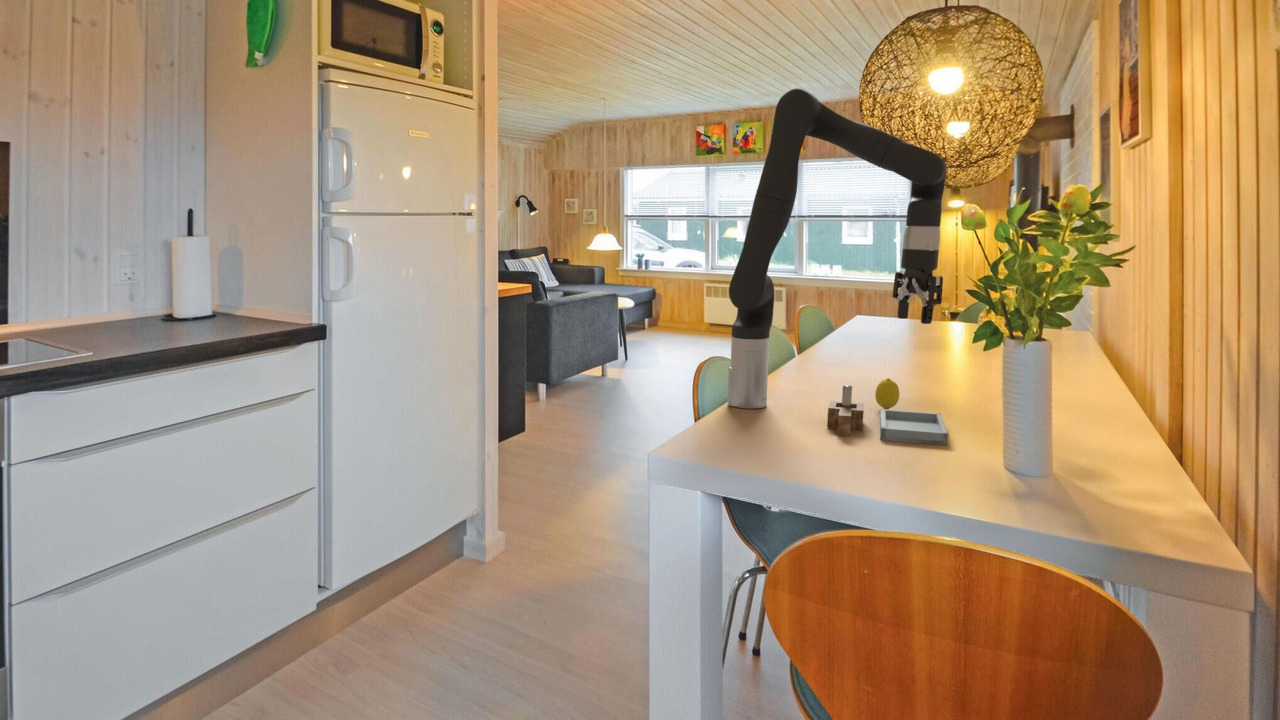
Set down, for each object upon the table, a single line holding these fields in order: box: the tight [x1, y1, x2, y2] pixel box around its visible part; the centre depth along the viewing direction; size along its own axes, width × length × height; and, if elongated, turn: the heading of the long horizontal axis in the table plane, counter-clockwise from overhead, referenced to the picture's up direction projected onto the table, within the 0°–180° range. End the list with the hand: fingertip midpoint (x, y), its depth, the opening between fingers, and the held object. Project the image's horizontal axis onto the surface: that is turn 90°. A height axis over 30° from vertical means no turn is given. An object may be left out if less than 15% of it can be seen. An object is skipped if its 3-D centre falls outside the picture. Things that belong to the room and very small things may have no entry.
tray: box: [879, 408, 949, 446], centre depth 161 cm, size 13×18×2 cm
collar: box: [826, 400, 865, 438], centre depth 163 cm, size 8×14×4 cm, turn 163°
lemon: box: [875, 377, 900, 410], centre depth 180 cm, size 6×6×8 cm
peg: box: [841, 384, 853, 408], centre depth 166 cm, size 2×2×9 cm
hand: (914, 321), depth 164 cm, fingers open, 8 cm apart
